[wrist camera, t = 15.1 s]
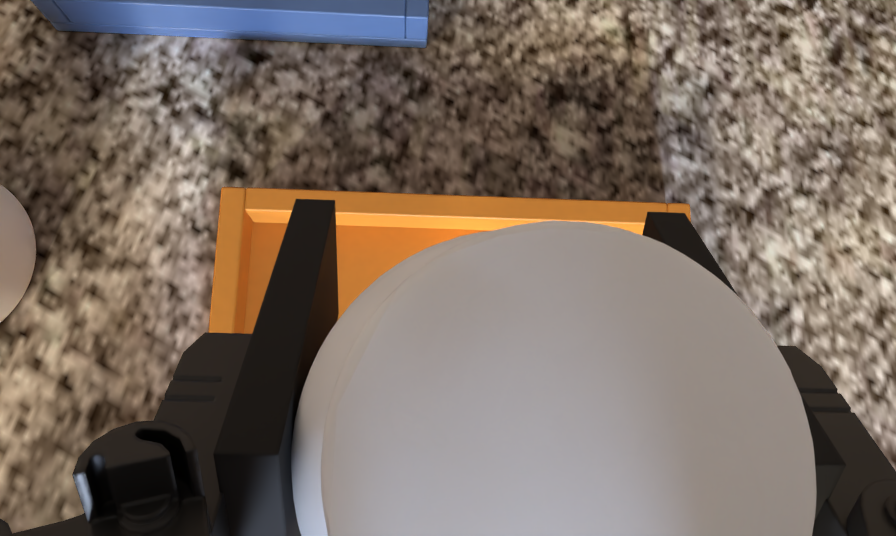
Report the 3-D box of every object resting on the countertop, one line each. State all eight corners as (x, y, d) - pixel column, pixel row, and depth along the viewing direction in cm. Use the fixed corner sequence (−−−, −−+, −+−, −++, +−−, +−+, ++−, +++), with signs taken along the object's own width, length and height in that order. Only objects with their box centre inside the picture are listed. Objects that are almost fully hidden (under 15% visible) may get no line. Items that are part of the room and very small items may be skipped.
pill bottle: (634, 375, 18) (982, 298, 7) (542, 624, 17) (801, 990, 6) (405, 274, 18) (411, 51, 7) (295, 511, 17) (104, 664, 6)
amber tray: (668, 220, 26) (690, 203, 24) (691, 690, 23) (718, 716, 21) (235, 204, 25) (220, 185, 23) (194, 691, 22) (172, 717, 20)
